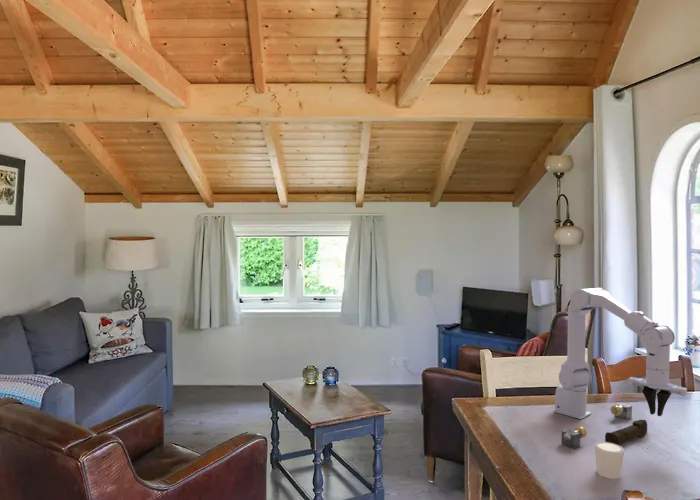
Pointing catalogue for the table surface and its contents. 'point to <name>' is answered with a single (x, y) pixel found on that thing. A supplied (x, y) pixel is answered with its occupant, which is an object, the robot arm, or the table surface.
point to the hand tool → (627, 432)
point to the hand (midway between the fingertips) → (656, 414)
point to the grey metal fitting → (573, 437)
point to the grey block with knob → (622, 410)
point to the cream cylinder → (609, 459)
